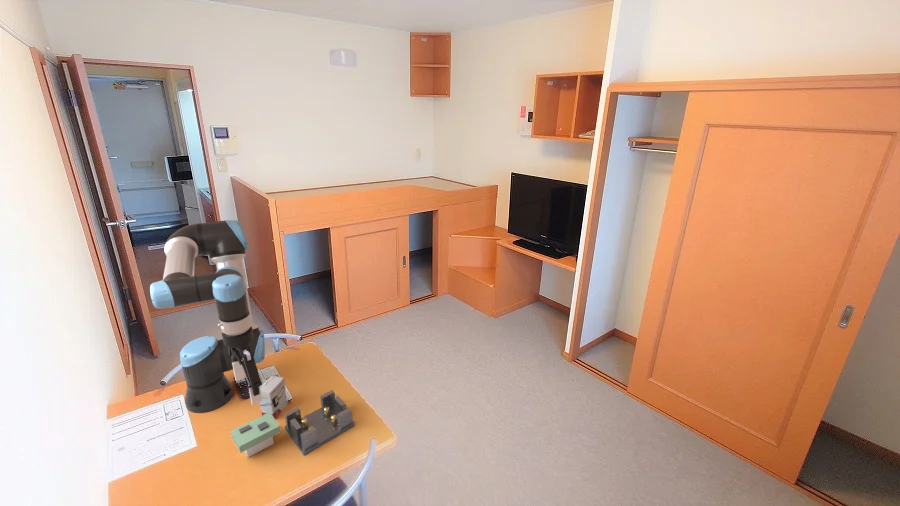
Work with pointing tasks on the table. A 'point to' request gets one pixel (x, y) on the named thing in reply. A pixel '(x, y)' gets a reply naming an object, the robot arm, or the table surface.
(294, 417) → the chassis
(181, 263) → the robot arm
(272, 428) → the board
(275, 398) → the ink box
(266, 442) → the riser
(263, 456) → the table surface
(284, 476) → the table surface
